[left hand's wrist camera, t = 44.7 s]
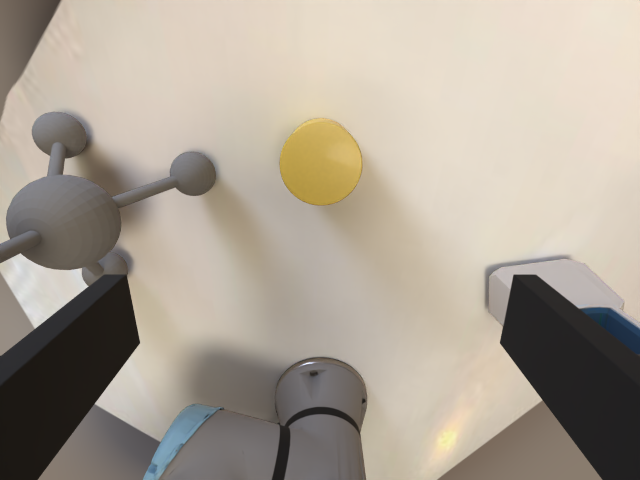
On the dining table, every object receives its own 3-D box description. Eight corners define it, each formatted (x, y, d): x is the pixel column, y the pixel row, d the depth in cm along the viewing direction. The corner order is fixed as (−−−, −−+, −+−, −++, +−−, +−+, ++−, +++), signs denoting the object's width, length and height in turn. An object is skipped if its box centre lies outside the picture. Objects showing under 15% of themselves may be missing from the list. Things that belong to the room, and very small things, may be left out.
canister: (352, 115, 48) (360, 118, 38) (355, 184, 51) (363, 202, 41) (283, 121, 48) (275, 125, 39) (290, 189, 51) (284, 208, 42)
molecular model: (248, 247, 54) (169, 408, 26) (108, 282, 56) (-109, 467, 28) (187, 75, 46) (-25, 33, 18) (26, 123, 48) (-396, 153, 20)
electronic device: (485, 309, 57) (644, 511, 29) (485, 265, 55) (660, 439, 26) (568, 299, 57) (814, 494, 28) (572, 253, 54) (847, 419, 26)
